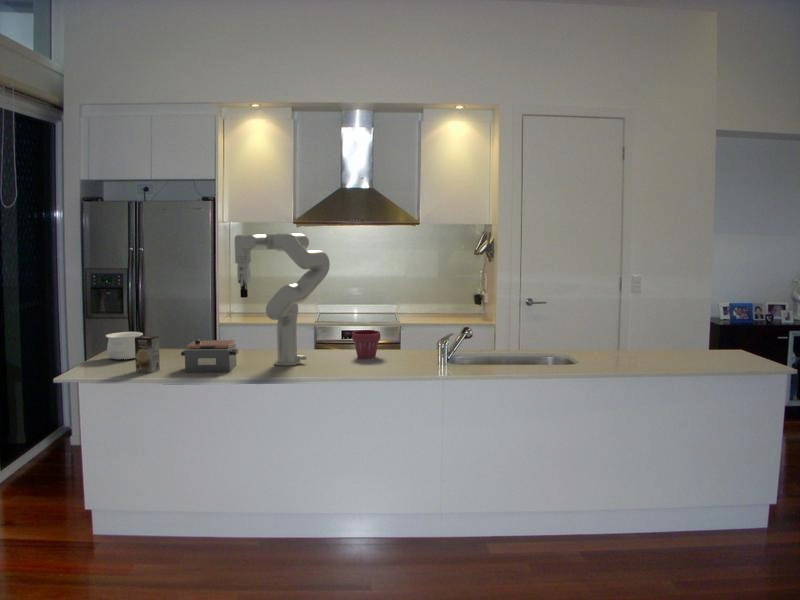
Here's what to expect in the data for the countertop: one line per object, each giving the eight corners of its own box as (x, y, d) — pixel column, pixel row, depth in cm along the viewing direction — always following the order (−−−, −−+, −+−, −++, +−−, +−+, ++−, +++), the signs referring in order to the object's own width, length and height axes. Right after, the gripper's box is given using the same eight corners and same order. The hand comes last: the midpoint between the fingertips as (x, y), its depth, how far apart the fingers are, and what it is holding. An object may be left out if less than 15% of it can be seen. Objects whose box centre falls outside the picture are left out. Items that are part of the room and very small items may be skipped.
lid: (235, 343, 334) (234, 337, 333) (228, 349, 317) (227, 343, 317) (194, 343, 333) (194, 337, 333) (185, 350, 317) (185, 343, 316)
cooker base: (241, 364, 334) (240, 343, 333) (234, 372, 318) (234, 349, 317) (189, 365, 333) (188, 343, 332) (179, 372, 317) (178, 350, 316)
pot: (136, 362, 342) (135, 337, 341) (100, 363, 341) (98, 338, 340) (149, 354, 364) (148, 330, 363) (115, 354, 363) (113, 331, 361)
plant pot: (368, 360, 343) (367, 335, 341) (346, 357, 351) (346, 332, 350) (386, 356, 354) (386, 331, 353) (364, 353, 362) (364, 329, 361)
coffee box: (135, 372, 319) (133, 337, 317) (143, 369, 325) (142, 335, 323) (152, 373, 317) (150, 338, 315) (160, 370, 323) (159, 336, 321)
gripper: (248, 260, 336) (249, 298, 338) (253, 259, 351) (254, 295, 352) (232, 261, 335) (233, 299, 337) (238, 259, 350) (239, 295, 352)
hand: (244, 297), depth 345 cm, fingers closed
